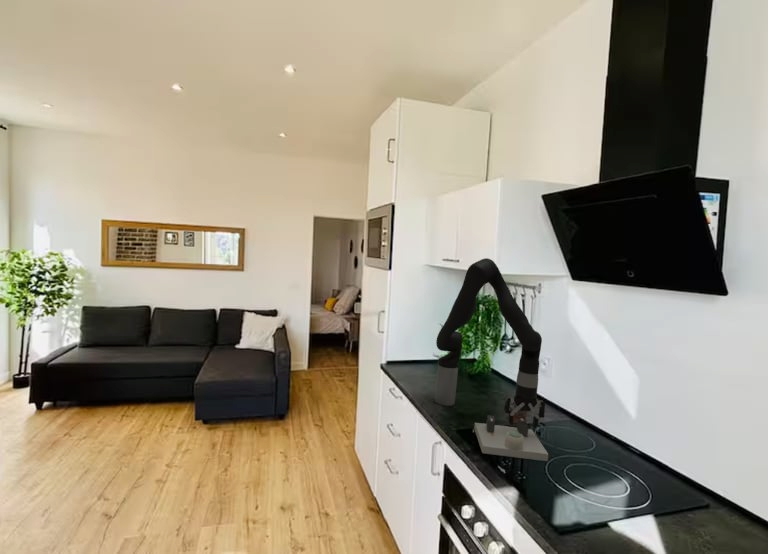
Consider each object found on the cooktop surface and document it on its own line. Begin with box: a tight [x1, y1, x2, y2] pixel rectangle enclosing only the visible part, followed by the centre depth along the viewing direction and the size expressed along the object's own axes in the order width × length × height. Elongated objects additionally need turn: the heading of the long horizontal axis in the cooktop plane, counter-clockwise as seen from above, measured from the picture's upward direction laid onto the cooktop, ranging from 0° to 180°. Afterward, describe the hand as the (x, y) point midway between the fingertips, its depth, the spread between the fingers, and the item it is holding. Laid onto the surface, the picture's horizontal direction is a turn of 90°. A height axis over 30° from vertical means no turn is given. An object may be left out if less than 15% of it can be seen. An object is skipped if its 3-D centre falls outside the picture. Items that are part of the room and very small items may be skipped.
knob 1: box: [485, 414, 496, 432], centre depth 152 cm, size 2×6×4 cm, turn 169°
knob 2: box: [516, 418, 530, 437], centre depth 151 cm, size 2×6×4 cm, turn 175°
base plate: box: [473, 422, 549, 462], centre depth 147 cm, size 20×22×7 cm
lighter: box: [507, 401, 528, 427], centre depth 166 cm, size 8×3×10 cm, turn 105°
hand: (522, 425), depth 151 cm, fingers open, 8 cm apart
